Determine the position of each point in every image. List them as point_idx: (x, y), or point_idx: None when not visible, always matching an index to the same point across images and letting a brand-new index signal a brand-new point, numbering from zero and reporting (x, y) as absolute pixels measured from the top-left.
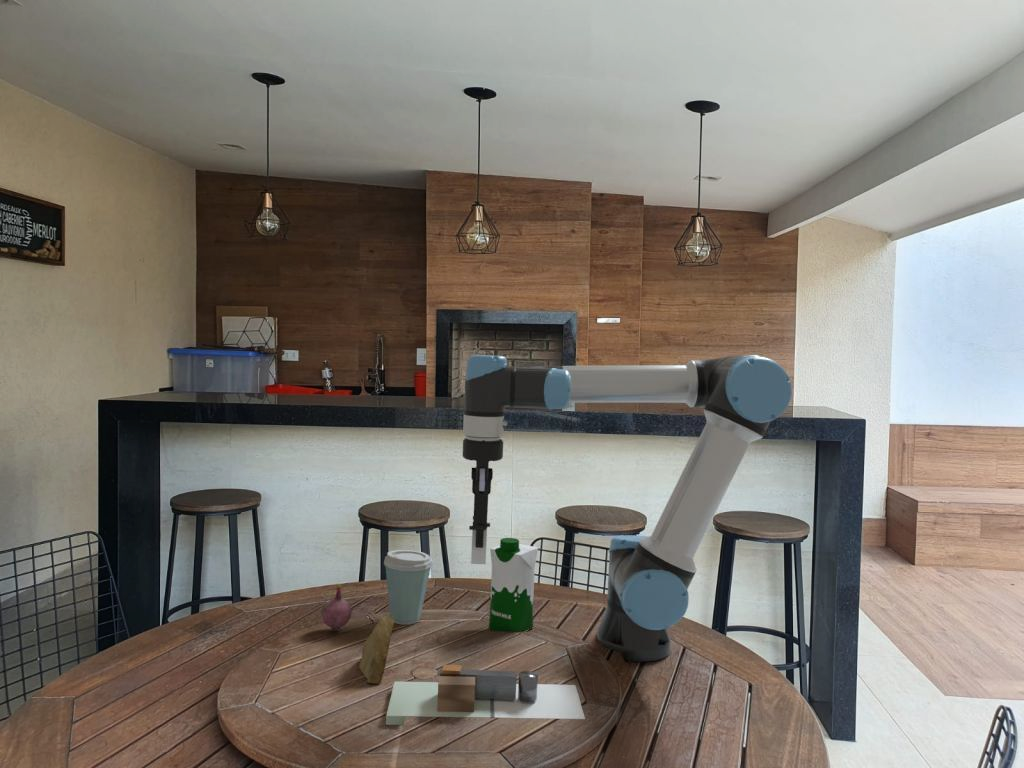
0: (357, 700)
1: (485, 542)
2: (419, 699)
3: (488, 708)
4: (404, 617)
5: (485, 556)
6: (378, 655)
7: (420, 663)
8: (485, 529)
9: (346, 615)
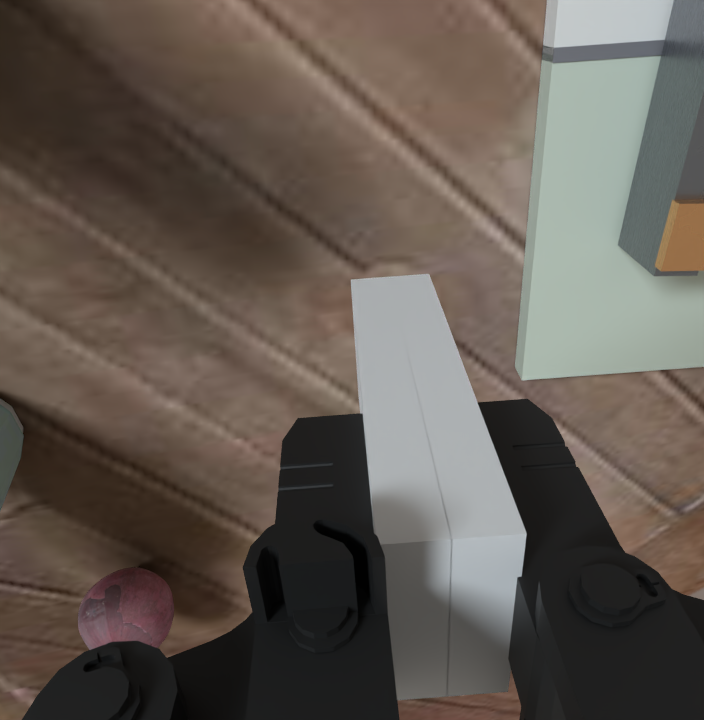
0: (569, 437)
1: (471, 407)
2: (647, 296)
3: None
4: (15, 437)
5: (441, 311)
6: None
7: (326, 324)
8: (637, 572)
9: (147, 592)
